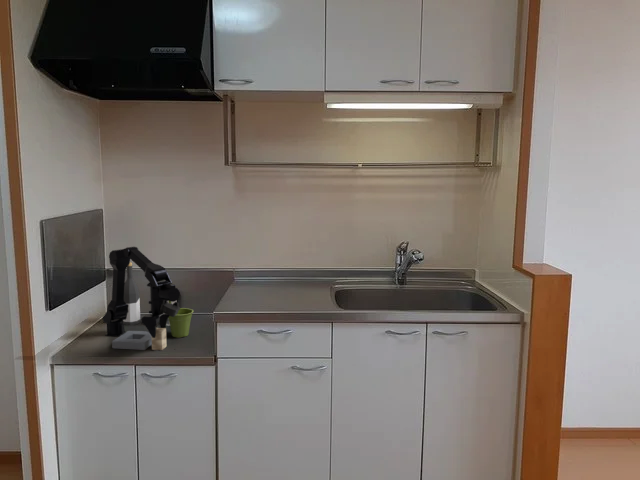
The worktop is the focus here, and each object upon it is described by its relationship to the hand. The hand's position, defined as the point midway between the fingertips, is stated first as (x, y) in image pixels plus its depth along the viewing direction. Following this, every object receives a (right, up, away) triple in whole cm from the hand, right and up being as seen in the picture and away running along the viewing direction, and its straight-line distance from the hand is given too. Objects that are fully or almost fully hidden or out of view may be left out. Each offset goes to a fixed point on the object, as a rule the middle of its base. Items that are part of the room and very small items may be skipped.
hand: (158, 334), depth 196 cm
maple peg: (0, -6, +1) cm, 6 cm away
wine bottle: (-25, -1, +34) cm, 42 cm away
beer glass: (-6, -2, +33) cm, 34 cm away
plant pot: (+4, -4, +17) cm, 18 cm away
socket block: (-12, -5, +6) cm, 14 cm away
